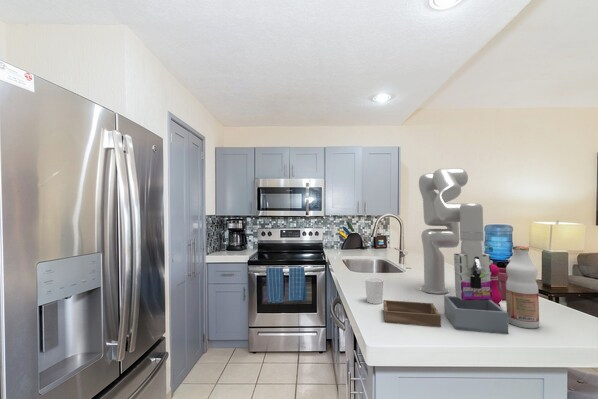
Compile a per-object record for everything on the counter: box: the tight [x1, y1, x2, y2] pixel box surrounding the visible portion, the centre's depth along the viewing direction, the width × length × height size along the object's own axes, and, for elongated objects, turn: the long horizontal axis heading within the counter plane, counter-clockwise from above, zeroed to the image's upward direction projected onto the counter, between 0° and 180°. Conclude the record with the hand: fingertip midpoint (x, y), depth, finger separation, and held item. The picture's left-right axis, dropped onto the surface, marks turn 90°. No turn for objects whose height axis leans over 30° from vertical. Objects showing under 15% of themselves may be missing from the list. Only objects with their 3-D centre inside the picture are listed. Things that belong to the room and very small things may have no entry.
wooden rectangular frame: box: [382, 299, 442, 328], centre depth 113 cm, size 14×19×4 cm
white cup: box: [364, 277, 384, 305], centre depth 133 cm, size 8×8×10 cm
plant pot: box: [497, 267, 508, 301], centre depth 138 cm, size 14×14×13 cm
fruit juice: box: [505, 245, 540, 329], centre depth 107 cm, size 9×9×28 cm
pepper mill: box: [490, 259, 503, 307], centre depth 124 cm, size 7×7×20 cm
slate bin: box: [443, 295, 509, 335], centre depth 108 cm, size 16×16×7 cm
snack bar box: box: [453, 252, 492, 300], centre depth 108 cm, size 11×5×16 cm, turn 90°
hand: (472, 285), depth 108 cm, fingers closed on snack bar box, 5 cm apart
